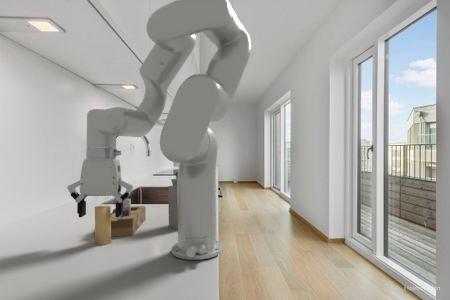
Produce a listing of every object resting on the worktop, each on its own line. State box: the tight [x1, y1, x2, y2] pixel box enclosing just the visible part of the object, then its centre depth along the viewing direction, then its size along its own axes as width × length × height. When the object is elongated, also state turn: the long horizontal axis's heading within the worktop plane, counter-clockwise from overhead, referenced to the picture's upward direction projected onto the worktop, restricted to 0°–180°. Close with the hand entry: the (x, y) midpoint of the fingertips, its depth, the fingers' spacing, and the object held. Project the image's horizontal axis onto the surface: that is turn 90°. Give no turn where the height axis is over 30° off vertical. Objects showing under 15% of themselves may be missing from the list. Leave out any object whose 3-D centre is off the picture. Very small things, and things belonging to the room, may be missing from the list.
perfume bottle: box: [167, 171, 178, 229], centre depth 94 cm, size 7×7×18 cm
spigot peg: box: [94, 204, 112, 246], centre depth 77 cm, size 4×4×10 cm
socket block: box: [111, 205, 147, 237], centre depth 93 cm, size 20×9×7 cm, turn 5°
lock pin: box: [111, 198, 132, 221], centre depth 87 cm, size 12×4×4 cm, turn 5°
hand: (100, 216), depth 78 cm, fingers open, 9 cm apart
